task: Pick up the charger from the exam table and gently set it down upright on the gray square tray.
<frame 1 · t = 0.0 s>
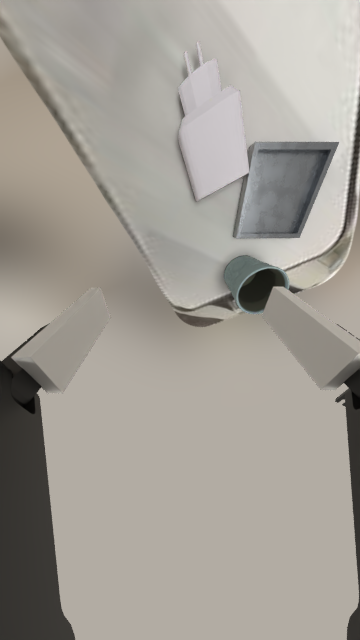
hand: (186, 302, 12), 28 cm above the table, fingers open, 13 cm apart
gray square tray: (273, 197, 30), on the table
charger: (205, 137, 25), on the table
green cup: (241, 272, 39), on the table
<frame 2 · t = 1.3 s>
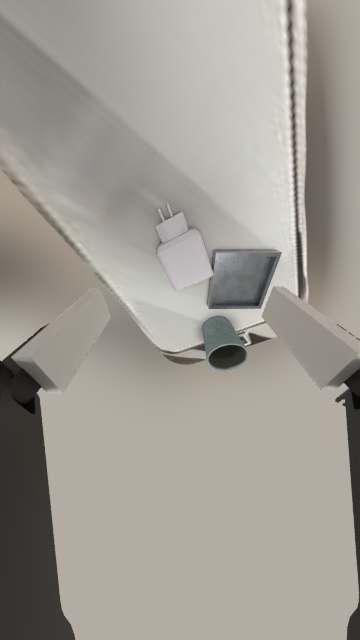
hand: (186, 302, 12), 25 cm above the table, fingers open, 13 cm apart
gray square tray: (237, 279, 37), on the table
charger: (179, 245, 32), on the table
green cup: (216, 327, 46), on the table
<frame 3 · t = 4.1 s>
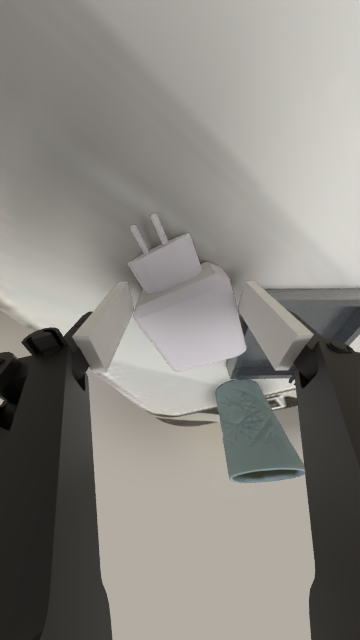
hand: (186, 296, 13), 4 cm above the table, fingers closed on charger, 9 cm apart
gray square tray: (283, 334, 21), on the table
charger: (181, 291, 17), on the table, touching gripper
green cup: (237, 390, 30), on the table
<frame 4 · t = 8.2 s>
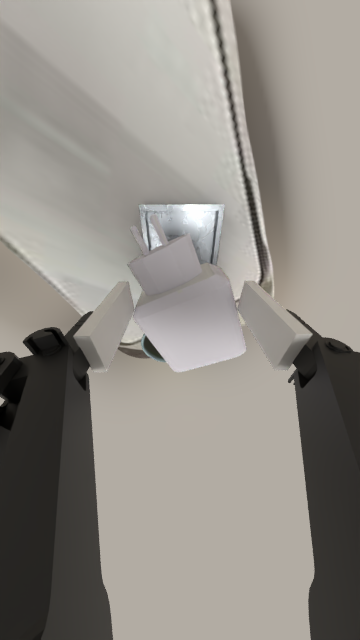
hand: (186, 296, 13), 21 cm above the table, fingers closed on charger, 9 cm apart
gray square tray: (181, 248, 29), on the table
charger: (181, 291, 17), point 17 cm above the table, touching gripper
green cup: (170, 312, 39), on the table
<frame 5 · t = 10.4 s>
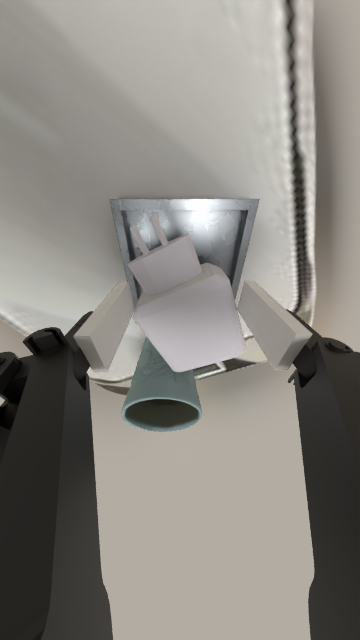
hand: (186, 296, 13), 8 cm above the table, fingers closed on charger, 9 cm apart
gray square tray: (183, 267, 19), on the table
charger: (181, 291, 17), point 4 cm above the table, touching gripper
green cup: (167, 347, 29), on the table
when the fingers open (5 cm above the table, at t = 12.5 s): charger stays where it is, resting on gray square tray.
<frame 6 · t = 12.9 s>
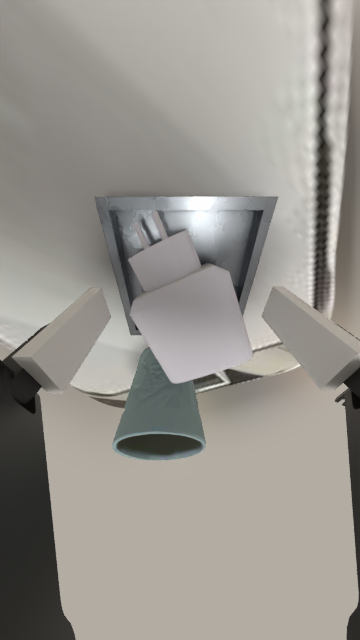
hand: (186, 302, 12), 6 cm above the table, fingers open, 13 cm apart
gray square tray: (184, 275, 17), on the table
charger: (182, 295, 17), point 2 cm above the table, touching gray square tray
green cup: (166, 360, 26), on the table
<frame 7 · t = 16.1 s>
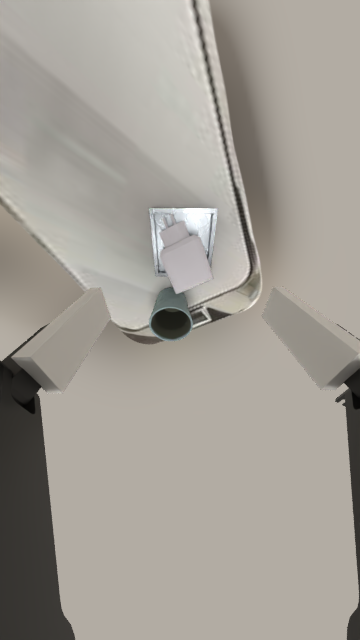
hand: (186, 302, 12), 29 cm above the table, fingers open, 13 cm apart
gray square tray: (182, 244, 35), on the table
charger: (181, 253, 35), point 2 cm above the table, touching gray square tray
green cup: (172, 300, 44), on the table
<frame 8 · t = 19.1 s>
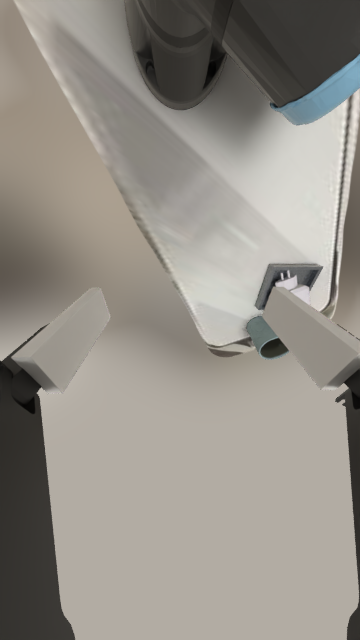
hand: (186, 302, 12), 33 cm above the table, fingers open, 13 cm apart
gray square tray: (283, 286, 46), on the table
charger: (282, 293, 46), point 2 cm above the table, touching gray square tray
green cup: (258, 324, 55), on the table
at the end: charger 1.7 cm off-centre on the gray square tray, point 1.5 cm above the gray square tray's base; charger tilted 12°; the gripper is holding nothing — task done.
